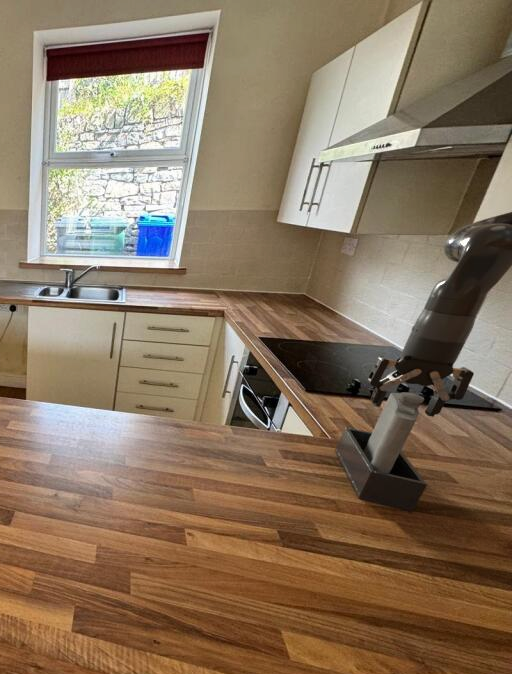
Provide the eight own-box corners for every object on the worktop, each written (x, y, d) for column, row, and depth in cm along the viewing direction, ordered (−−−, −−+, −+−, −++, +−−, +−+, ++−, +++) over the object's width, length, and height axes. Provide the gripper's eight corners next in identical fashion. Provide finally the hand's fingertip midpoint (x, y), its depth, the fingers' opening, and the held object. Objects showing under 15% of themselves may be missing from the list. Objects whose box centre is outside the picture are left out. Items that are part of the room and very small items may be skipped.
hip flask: (359, 456, 97) (395, 380, 89) (381, 463, 94) (420, 386, 86) (360, 488, 85) (401, 404, 77) (385, 496, 83) (430, 411, 75)
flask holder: (378, 460, 97) (389, 436, 94) (412, 512, 80) (427, 484, 77) (334, 450, 100) (344, 427, 98) (358, 498, 83) (371, 471, 81)
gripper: (397, 334, 77) (364, 409, 83) (501, 346, 71) (456, 426, 77) (384, 325, 83) (354, 396, 89) (478, 335, 77) (439, 410, 84)
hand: (401, 410), depth 83 cm, fingers open, 8 cm apart
